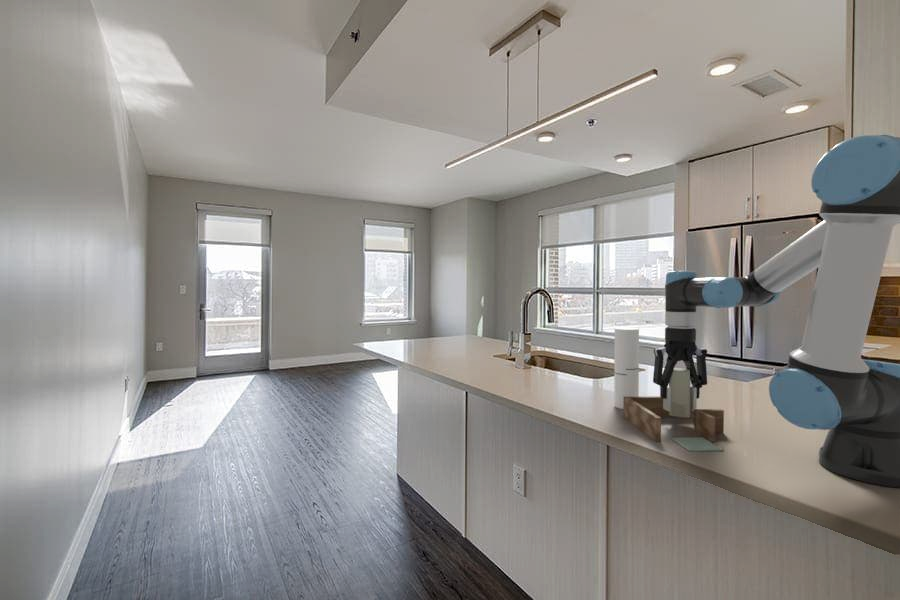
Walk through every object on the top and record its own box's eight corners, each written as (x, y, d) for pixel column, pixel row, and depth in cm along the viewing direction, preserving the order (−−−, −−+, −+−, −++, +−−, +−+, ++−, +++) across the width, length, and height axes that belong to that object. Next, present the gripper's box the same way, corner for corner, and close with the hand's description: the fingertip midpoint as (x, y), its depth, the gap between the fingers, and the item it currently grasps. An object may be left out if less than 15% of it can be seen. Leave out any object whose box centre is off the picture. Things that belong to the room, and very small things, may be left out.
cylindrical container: (641, 410, 131) (641, 329, 130) (616, 409, 133) (616, 329, 132) (635, 403, 138) (636, 327, 137) (612, 402, 140) (612, 327, 139)
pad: (723, 451, 98) (723, 449, 98) (688, 451, 98) (688, 449, 98) (703, 438, 106) (703, 437, 106) (671, 438, 106) (671, 437, 106)
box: (690, 414, 118) (691, 368, 117) (689, 418, 114) (690, 371, 114) (669, 411, 121) (670, 366, 120) (667, 415, 117) (668, 369, 117)
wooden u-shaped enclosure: (738, 441, 104) (738, 417, 104) (656, 441, 105) (656, 417, 104) (692, 416, 124) (692, 396, 124) (623, 416, 125) (623, 396, 125)
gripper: (707, 325, 120) (706, 406, 121) (639, 325, 121) (638, 406, 121) (724, 328, 113) (723, 414, 113) (651, 328, 113) (650, 414, 114)
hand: (679, 409), depth 117 cm, fingers closed on box, 6 cm apart
